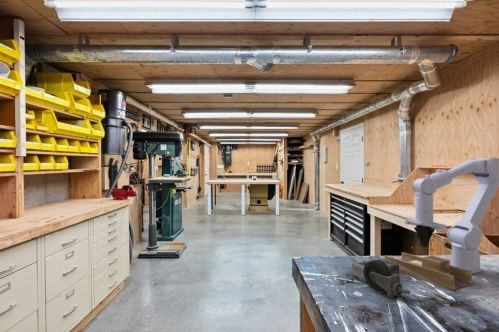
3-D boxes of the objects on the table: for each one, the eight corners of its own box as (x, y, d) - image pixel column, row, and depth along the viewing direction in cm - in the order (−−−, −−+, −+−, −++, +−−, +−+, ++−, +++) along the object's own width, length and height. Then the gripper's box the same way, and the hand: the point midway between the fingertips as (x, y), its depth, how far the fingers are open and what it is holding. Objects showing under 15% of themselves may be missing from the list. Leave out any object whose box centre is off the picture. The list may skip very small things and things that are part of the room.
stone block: (349, 275, 108) (349, 261, 108) (381, 271, 112) (381, 257, 112) (365, 284, 99) (365, 268, 99) (400, 279, 103) (399, 264, 104)
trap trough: (403, 263, 120) (403, 252, 120) (471, 284, 98) (471, 271, 98) (384, 267, 115) (384, 255, 115) (452, 290, 93) (452, 276, 93)
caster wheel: (361, 289, 97) (403, 302, 84) (358, 259, 98) (399, 267, 85) (373, 285, 100) (415, 298, 87) (370, 256, 101) (412, 264, 88)
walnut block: (432, 266, 107) (432, 255, 107) (449, 271, 102) (449, 260, 102) (422, 269, 104) (421, 257, 104) (439, 274, 99) (439, 262, 99)
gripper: (399, 208, 116) (400, 243, 115) (437, 213, 103) (437, 252, 102) (411, 207, 119) (411, 241, 119) (449, 212, 106) (449, 250, 106)
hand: (424, 246), depth 111 cm, fingers closed
